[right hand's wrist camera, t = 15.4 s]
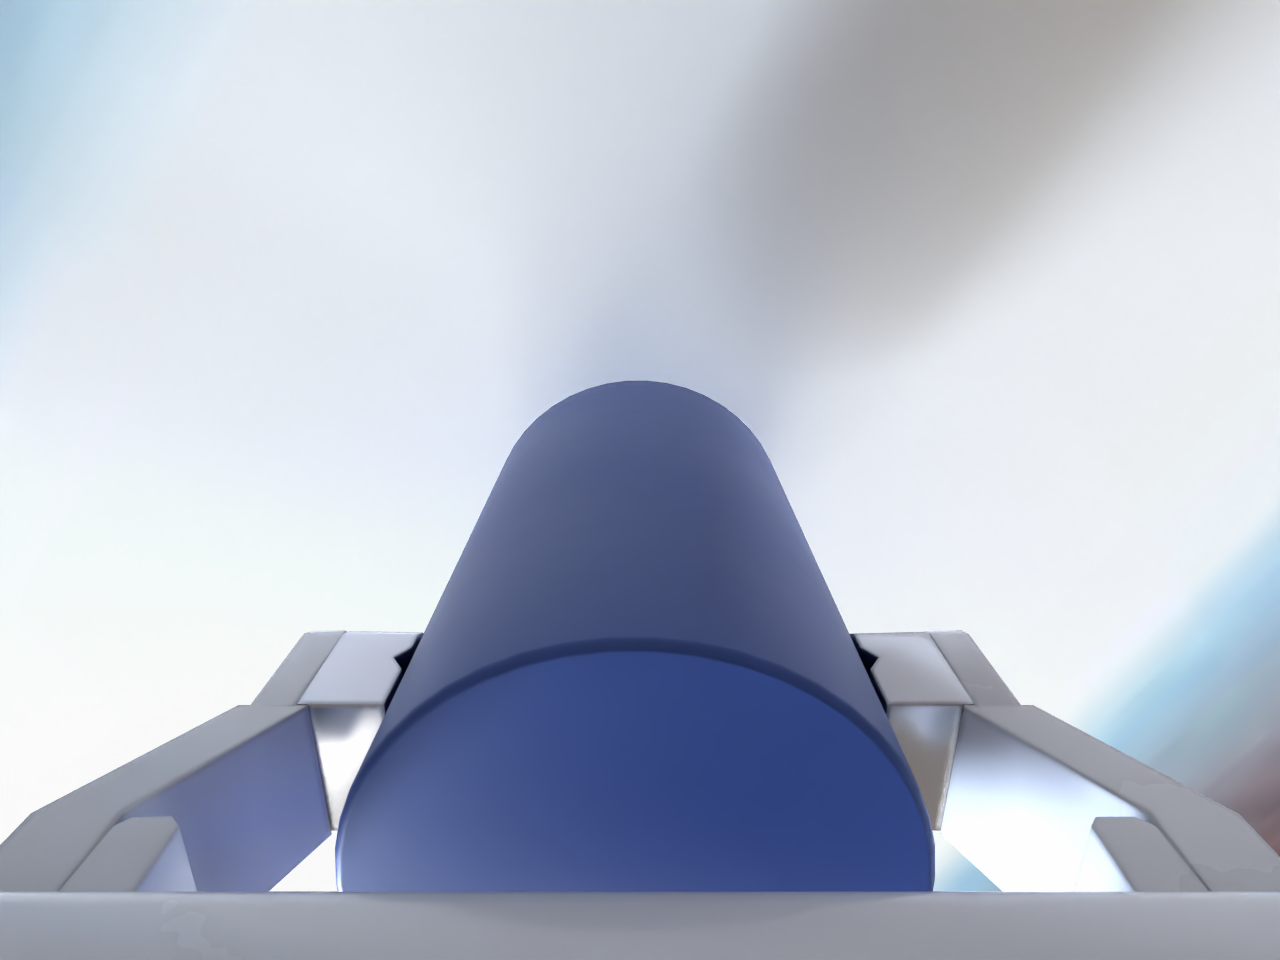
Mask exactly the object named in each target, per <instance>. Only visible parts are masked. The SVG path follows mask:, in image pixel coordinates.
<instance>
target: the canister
mask: <svg viewBox="0 0 1280 960" xmlns="http://www.w3.org/2000/svg"><path fill="white" fill-rule="evenodd" d="M335 860H336V885H337V890H338V892H933V886H934V879H935V843H934V838H933V832H932V827H931V821H930V816H929V813H928V810H927V807H926V805H925V802H924V799H923V797H922V794H921V791H920V789H919V786H918V784H917V781H916V779H915V777H914V775H913V773H912V771H911V768H910V766H909V764H908V762H907V760H906V757H905V755H904V753H903V751H902V749H901V746H900V744H899V742H898V740H897V738H896V735H895V733H894V731H893V729H892V727H891V725H890V722H889V720H888V718H887V716H886V714H885V711H884V709H883V707H882V705H881V703H880V700H879V698H878V696H877V694H876V692H875V690H874V687H873V685H872V683H871V681H870V679H869V676H868V674H867V672H866V670H865V668H864V665H863V663H862V661H861V659H860V657H859V654H858V652H857V650H856V648H855V646H854V644H853V641H852V639H851V637H850V635H849V633H848V630H847V628H846V626H845V624H844V622H843V619H842V617H841V615H840V613H839V611H838V608H837V606H836V604H835V602H834V600H833V598H832V595H831V593H830V591H829V589H828V587H827V584H826V582H825V580H824V578H823V576H822V573H821V571H820V569H819V567H818V565H817V562H816V560H815V558H814V556H813V554H812V552H811V549H810V547H809V545H808V543H807V541H806V538H805V536H804V534H803V532H802V530H801V527H800V525H799V523H798V521H797V519H796V516H795V514H794V512H793V510H792V508H791V506H790V503H789V501H788V499H787V497H786V495H785V492H784V490H783V488H782V486H781V484H780V481H779V479H778V477H777V475H776V473H775V470H774V468H773V466H772V464H771V462H770V460H769V458H768V456H767V454H766V452H765V451H764V449H763V447H762V445H761V444H760V442H759V441H758V440H757V438H756V437H755V436H754V435H753V433H752V432H751V431H750V429H749V428H748V427H747V426H746V425H745V424H744V423H743V422H742V421H741V420H740V419H739V418H738V417H737V416H735V415H734V414H733V413H731V412H730V411H729V410H727V409H726V408H725V407H723V406H722V405H720V404H719V403H717V402H715V401H713V400H712V399H710V398H708V397H706V396H704V395H702V394H699V393H697V392H694V391H692V390H689V389H687V388H683V387H680V386H676V385H672V384H668V383H661V382H652V381H623V382H616V383H608V384H604V385H600V386H597V387H593V388H589V389H586V390H584V391H582V392H579V393H577V394H574V395H572V396H570V397H568V398H566V399H564V400H563V401H561V402H559V403H558V404H556V405H554V406H553V407H551V408H550V409H549V410H547V411H546V412H545V413H544V414H542V415H541V416H540V417H538V418H537V419H536V420H535V421H534V422H533V424H532V425H531V426H530V427H529V428H528V429H527V430H526V431H525V432H524V433H523V435H522V436H521V437H520V439H519V440H518V441H517V443H516V444H515V446H514V447H513V449H512V451H511V453H510V455H509V457H508V458H507V460H506V462H505V464H504V466H503V469H502V471H501V473H500V475H499V477H498V479H497V481H496V483H495V485H494V487H493V489H492V492H491V494H490V496H489V498H488V500H487V502H486V504H485V506H484V508H483V510H482V513H481V515H480V517H479V519H478V521H477V523H476V525H475V527H474V529H473V531H472V534H471V536H470V538H469V540H468V542H467V544H466V546H465V548H464V550H463V552H462V555H461V557H460V559H459V561H458V563H457V565H456V567H455V569H454V571H453V573H452V576H451V578H450V580H449V582H448V584H447V586H446V588H445V590H444V592H443V594H442V596H441V599H440V601H439V603H438V605H437V607H436V609H435V611H434V613H433V615H432V617H431V620H430V622H429V624H428V626H427V628H426V630H425V632H424V634H423V636H422V638H421V641H420V643H419V645H418V647H417V649H416V651H415V653H414V655H413V657H412V659H411V662H410V664H409V666H408V668H407V670H406V672H405V674H404V676H403V678H402V680H401V683H400V685H399V687H398V689H397V691H396V693H395V695H394V697H393V699H392V701H391V703H390V706H389V708H388V710H387V712H386V714H385V716H384V718H383V720H382V722H381V724H380V727H379V729H378V731H377V733H376V735H375V737H374V739H373V741H372V743H371V745H370V748H369V750H368V752H367V754H366V756H365V758H364V760H363V762H362V764H361V766H360V769H359V771H358V773H357V775H356V777H355V779H354V781H353V783H352V785H351V787H350V790H349V793H348V796H347V799H346V801H345V804H344V807H343V810H342V813H341V816H340V820H339V826H338V833H337V840H336V846H335Z"/></svg>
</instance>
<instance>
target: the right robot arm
mask: <svg viewBox="0 0 1280 960" xmlns="http://www.w3.org/2000/svg"><path fill="white" fill-rule="evenodd" d="M423 634H424V633H415V632H365V631H349V632H347V631H311V632H308V633H305V634H304V635H303V636H302V637H301V638H300V640H299V641H298V642H297V644H296V645H295V646H294V648H293V649H292V650H291V652H290V653H289V654H288V656H287V657H286V658H285V660H284V661H283V662H282V664H281V665H280V666H279V668H278V669H277V670H276V672H275V673H274V674H273V676H272V677H271V678H270V680H269V681H268V682H267V684H266V685H265V686H264V688H263V689H262V690H261V692H260V693H259V694H258V696H257V697H256V698H255V700H254V701H253V702H252V704H251V705H238V706H236V707H234V708H232V709H230V710H228V711H226V712H224V713H223V714H221V715H219V716H217V717H215V718H213V719H211V720H209V721H207V722H205V723H203V724H201V725H200V726H198V727H196V728H194V729H192V730H190V731H188V732H186V733H184V734H182V735H180V736H178V737H177V738H175V739H173V740H171V741H169V742H167V743H165V744H163V745H161V746H159V747H157V748H155V749H154V750H152V751H150V752H148V753H146V754H144V755H142V756H140V757H138V758H136V759H134V760H132V761H131V762H129V763H127V764H125V765H123V766H121V767H119V768H117V769H115V770H113V771H111V772H109V773H107V774H106V775H104V776H102V777H100V778H98V779H96V780H94V781H92V782H90V783H88V784H86V785H84V786H83V787H81V788H79V789H77V790H75V791H73V792H71V793H69V794H67V795H65V796H63V797H61V798H60V799H58V800H56V801H54V802H52V803H50V804H48V805H46V806H44V807H42V808H40V809H38V810H37V811H35V812H33V813H31V814H30V815H29V816H28V817H27V818H26V819H25V820H24V821H23V822H22V823H21V824H20V825H19V826H18V827H17V828H16V829H15V831H14V832H13V833H12V834H11V835H10V836H9V837H8V838H7V839H6V840H5V841H4V842H3V843H2V844H1V845H0V960H1280V857H1279V856H1278V854H1277V853H1276V852H1275V851H1274V850H1273V849H1272V848H1271V847H1270V846H1269V845H1268V844H1267V843H1266V842H1265V841H1264V840H1263V839H1262V838H1261V836H1260V835H1259V834H1258V833H1257V832H1256V831H1255V830H1254V829H1253V828H1252V827H1251V826H1250V825H1249V824H1248V823H1247V822H1246V821H1245V819H1244V818H1243V817H1242V816H1241V815H1240V814H1238V813H1236V812H1234V811H1232V810H1230V809H1228V808H1226V807H1225V806H1223V805H1221V804H1219V803H1217V802H1215V801H1213V800H1211V799H1209V798H1208V797H1206V796H1204V795H1202V794H1200V793H1198V792H1196V791H1194V790H1192V789H1191V788H1189V787H1187V786H1185V785H1183V784H1181V783H1179V782H1177V781H1175V780H1174V779H1172V778H1170V777H1168V776H1166V775H1164V774H1162V773H1160V772H1158V771H1156V770H1155V769H1153V768H1151V767H1149V766H1147V765H1145V764H1143V763H1141V762H1139V761H1138V760H1136V759H1134V758H1132V757H1130V756H1128V755H1126V754H1124V753H1122V752H1121V751H1119V750H1117V749H1115V748H1113V747H1111V746H1109V745H1107V744H1105V743H1103V742H1102V741H1100V740H1098V739H1096V738H1094V737H1092V736H1090V735H1088V734H1086V733H1085V732H1083V731H1081V730H1079V729H1077V728H1075V727H1073V726H1071V725H1069V724H1068V723H1066V722H1064V721H1062V720H1060V719H1058V718H1056V717H1054V716H1052V715H1051V714H1049V713H1047V712H1045V711H1043V710H1041V709H1039V708H1037V707H1035V706H1033V705H1020V703H1019V702H1018V700H1017V699H1016V698H1015V696H1014V695H1013V694H1012V692H1011V691H1010V690H1009V688H1008V687H1007V686H1006V684H1005V683H1004V682H1003V680H1002V679H1001V677H1000V676H999V675H998V673H997V672H996V671H995V669H994V668H993V667H992V665H991V664H990V663H989V661H988V660H987V658H986V657H985V656H984V654H983V653H982V652H981V650H980V649H979V648H978V646H977V645H976V644H975V642H974V641H973V639H972V638H971V637H970V635H969V634H967V633H965V632H963V631H961V630H958V631H932V632H904V633H865V634H849V635H850V637H851V639H852V641H853V644H854V646H855V648H856V650H857V652H858V654H859V657H860V659H861V661H862V663H863V665H864V668H865V670H866V672H867V674H868V676H869V679H870V681H871V683H872V685H873V687H874V690H875V692H876V694H877V696H878V698H879V700H880V703H881V705H882V707H883V709H884V711H885V714H886V716H887V718H888V720H889V722H890V725H891V727H892V729H893V731H894V733H895V735H896V738H897V740H898V742H899V744H900V746H901V749H902V751H903V753H904V755H905V757H906V760H907V762H908V764H909V766H910V768H911V771H912V773H913V775H914V777H915V779H916V781H917V784H918V786H919V789H920V791H921V794H922V797H923V799H924V802H925V805H926V807H927V810H928V813H929V816H930V821H931V827H932V830H941V832H940V834H941V835H942V836H943V837H944V838H946V839H947V840H948V841H949V842H950V843H951V844H952V845H953V846H954V847H955V848H956V849H958V850H959V851H960V852H961V853H962V854H963V855H964V856H965V857H966V858H967V859H968V860H970V861H971V862H972V863H973V864H974V865H975V866H976V867H977V868H978V869H979V870H980V871H981V872H983V873H984V874H985V875H986V876H987V877H988V878H989V879H990V880H991V881H992V882H993V883H995V884H996V885H997V886H998V887H999V888H1000V889H1001V890H1002V891H1003V892H268V891H269V890H271V889H272V888H273V887H274V886H275V885H276V884H277V883H278V882H279V881H280V880H282V879H283V878H284V877H285V876H286V875H287V874H288V873H289V872H290V871H292V870H293V869H294V868H295V867H296V866H297V865H298V864H299V863H300V862H301V861H303V860H304V859H305V858H306V857H307V856H308V855H309V854H310V853H311V852H312V851H314V850H315V849H316V848H317V847H318V846H319V845H320V844H321V843H322V842H323V841H325V840H326V839H327V838H328V837H329V836H330V835H331V830H338V826H339V820H340V816H341V813H342V810H343V807H344V804H345V801H346V799H347V796H348V793H349V790H350V787H351V785H352V783H353V781H354V779H355V777H356V775H357V773H358V771H359V769H360V766H361V764H362V762H363V760H364V758H365V756H366V754H367V752H368V750H369V748H370V745H371V743H372V741H373V739H374V737H375V735H376V733H377V731H378V729H379V727H380V724H381V722H382V720H383V718H384V716H385V714H386V712H387V710H388V708H389V706H390V703H391V701H392V699H393V697H394V695H395V693H396V691H397V689H398V687H399V685H400V683H401V680H402V678H403V676H404V674H405V672H406V670H407V668H408V666H409V664H410V662H411V659H412V657H413V655H414V653H415V651H416V649H417V647H418V645H419V643H420V641H421V638H422V636H423Z"/></svg>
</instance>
